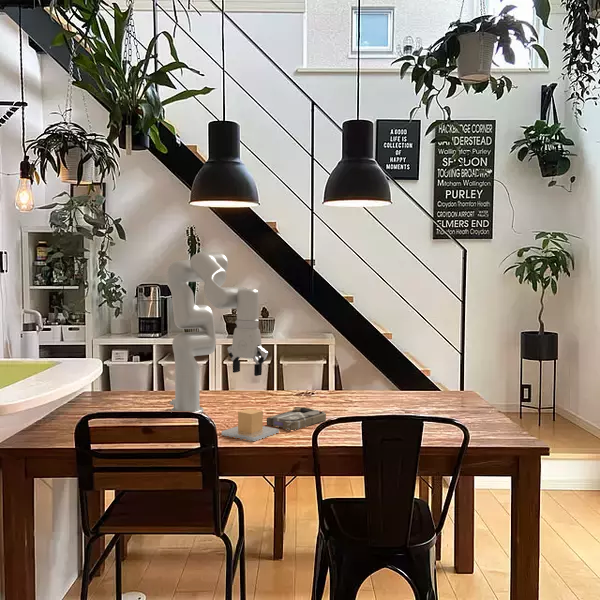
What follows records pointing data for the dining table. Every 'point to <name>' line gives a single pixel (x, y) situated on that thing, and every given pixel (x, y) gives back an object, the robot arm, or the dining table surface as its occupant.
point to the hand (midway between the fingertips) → (247, 373)
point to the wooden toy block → (250, 420)
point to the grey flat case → (297, 418)
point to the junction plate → (250, 436)
